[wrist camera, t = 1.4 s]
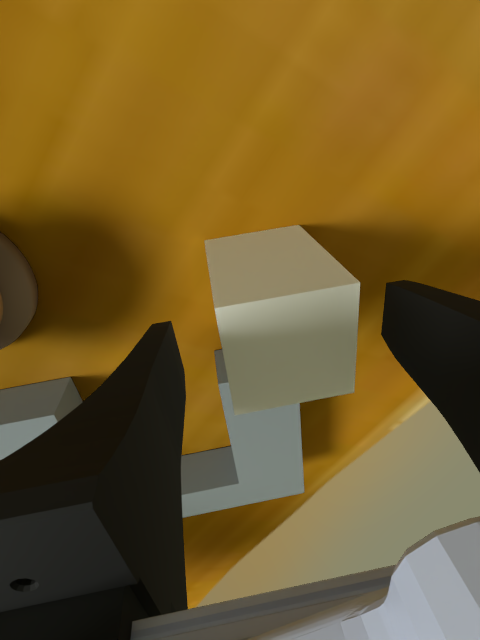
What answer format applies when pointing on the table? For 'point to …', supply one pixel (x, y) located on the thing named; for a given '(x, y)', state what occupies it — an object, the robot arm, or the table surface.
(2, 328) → the brown knob
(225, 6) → the table surface
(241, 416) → the notched board
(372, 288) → the table surface
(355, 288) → the block
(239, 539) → the table surface
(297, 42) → the table surface
